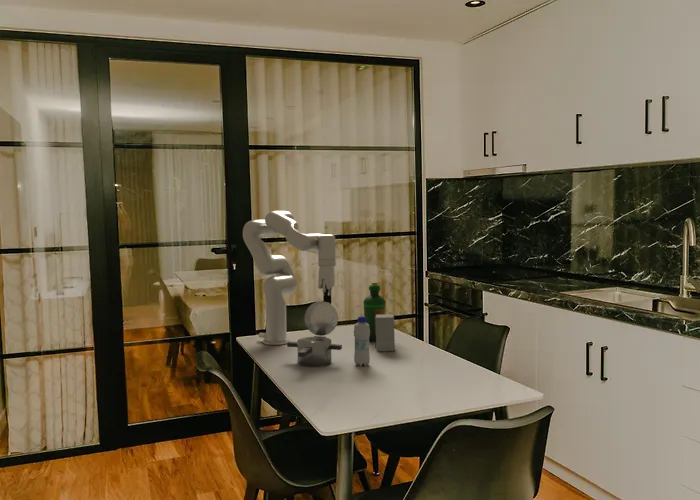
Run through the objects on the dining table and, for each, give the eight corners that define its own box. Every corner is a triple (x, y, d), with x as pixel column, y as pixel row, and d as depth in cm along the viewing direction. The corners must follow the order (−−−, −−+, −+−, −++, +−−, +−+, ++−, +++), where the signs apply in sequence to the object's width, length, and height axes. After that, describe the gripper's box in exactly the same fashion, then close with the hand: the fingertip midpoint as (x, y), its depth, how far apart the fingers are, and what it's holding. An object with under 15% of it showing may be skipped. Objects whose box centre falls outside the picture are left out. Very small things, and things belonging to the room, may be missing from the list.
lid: (305, 300, 262) (307, 300, 265) (303, 334, 261) (306, 334, 264) (338, 301, 259) (339, 302, 262) (336, 336, 257) (338, 336, 260)
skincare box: (394, 348, 276) (394, 313, 275) (394, 352, 269) (394, 316, 268) (376, 348, 277) (376, 313, 276) (375, 351, 270) (375, 316, 269)
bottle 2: (386, 342, 288) (386, 283, 285) (363, 342, 288) (363, 283, 286) (385, 337, 298) (385, 280, 296) (363, 337, 298) (363, 280, 296)
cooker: (273, 370, 240) (273, 347, 239) (295, 355, 263) (295, 334, 263) (329, 374, 234) (329, 351, 233) (346, 359, 257) (346, 337, 257)
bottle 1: (368, 367, 244) (368, 318, 243) (352, 366, 246) (352, 317, 244) (371, 363, 251) (371, 315, 249) (355, 362, 252) (355, 314, 251)
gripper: (323, 261, 275) (324, 301, 276) (313, 264, 261) (313, 306, 262) (339, 261, 273) (340, 301, 274) (330, 264, 259) (330, 307, 260)
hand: (327, 304), depth 268 cm, fingers closed
